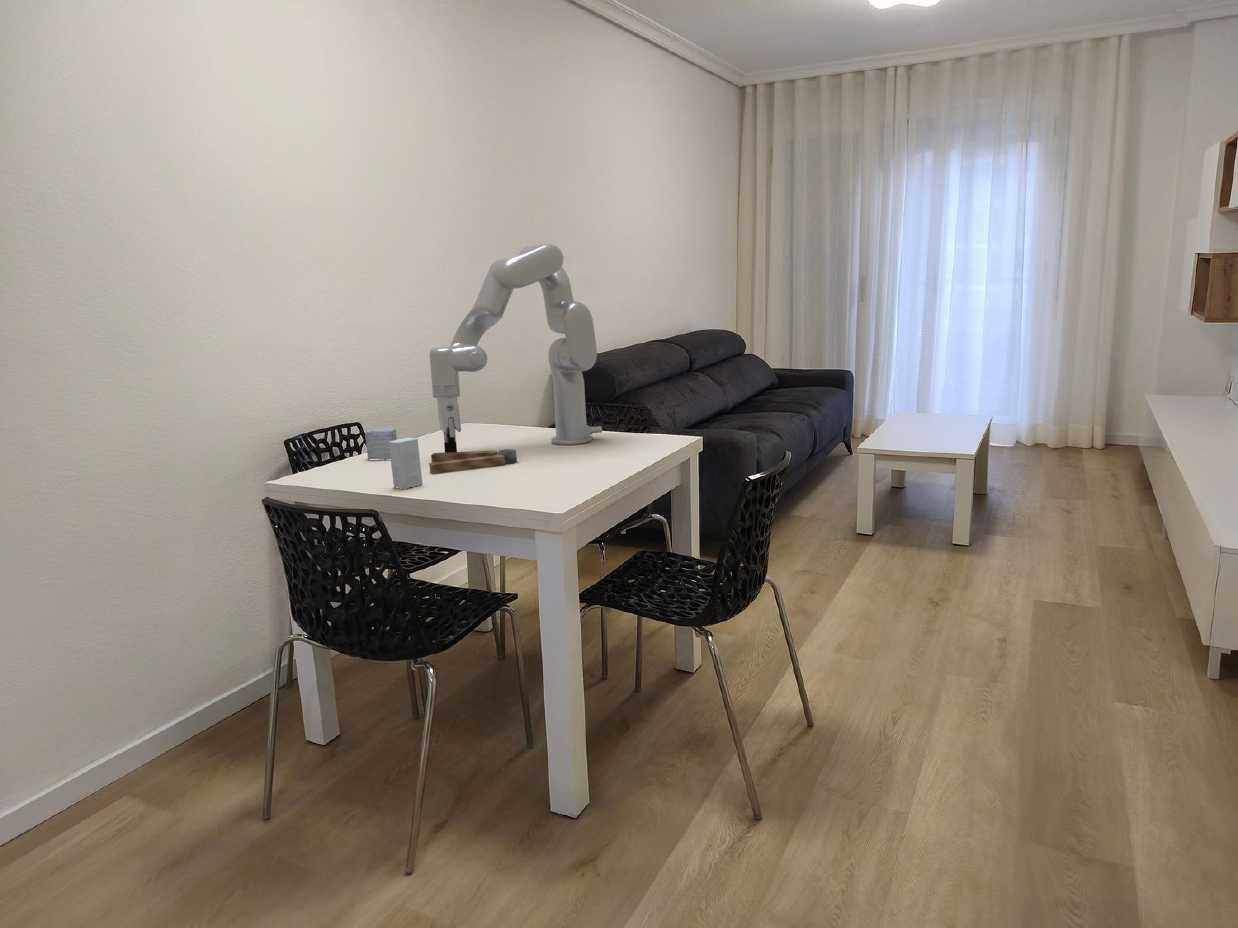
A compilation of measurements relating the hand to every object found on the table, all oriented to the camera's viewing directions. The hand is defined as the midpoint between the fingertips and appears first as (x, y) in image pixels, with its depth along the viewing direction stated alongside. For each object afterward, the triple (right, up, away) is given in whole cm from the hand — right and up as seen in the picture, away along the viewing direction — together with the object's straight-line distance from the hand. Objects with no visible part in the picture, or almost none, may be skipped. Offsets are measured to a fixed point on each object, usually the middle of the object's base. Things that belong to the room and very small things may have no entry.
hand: (451, 455), depth 251 cm
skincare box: (-5, -8, -29) cm, 31 cm away
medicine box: (-21, -1, +8) cm, 23 cm away
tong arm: (+4, -2, -3) cm, 6 cm away
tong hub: (+8, -3, -9) cm, 13 cm away
